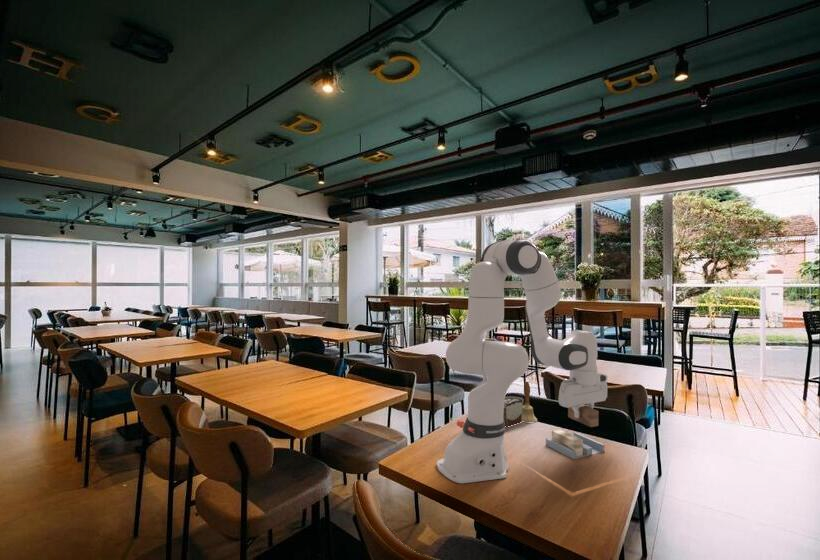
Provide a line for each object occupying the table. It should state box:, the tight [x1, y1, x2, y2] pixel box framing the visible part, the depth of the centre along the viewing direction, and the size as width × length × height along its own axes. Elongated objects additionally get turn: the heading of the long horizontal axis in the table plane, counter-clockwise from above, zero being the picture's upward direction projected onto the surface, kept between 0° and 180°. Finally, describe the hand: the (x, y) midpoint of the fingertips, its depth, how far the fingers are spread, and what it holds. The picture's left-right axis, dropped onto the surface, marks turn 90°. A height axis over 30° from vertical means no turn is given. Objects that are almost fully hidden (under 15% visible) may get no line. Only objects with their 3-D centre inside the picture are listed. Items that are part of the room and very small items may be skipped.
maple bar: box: [551, 429, 583, 456], centre depth 131 cm, size 10×4×5 cm, turn 26°
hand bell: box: [522, 381, 538, 423], centre depth 162 cm, size 8×8×16 cm
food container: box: [503, 396, 525, 428], centre depth 158 cm, size 12×6×10 cm, turn 128°
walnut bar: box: [567, 404, 600, 428], centre depth 134 cm, size 10×4×5 cm, turn 22°
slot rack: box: [545, 431, 606, 460], centre depth 133 cm, size 14×12×3 cm
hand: (582, 416), depth 134 cm, fingers closed on walnut bar, 4 cm apart
